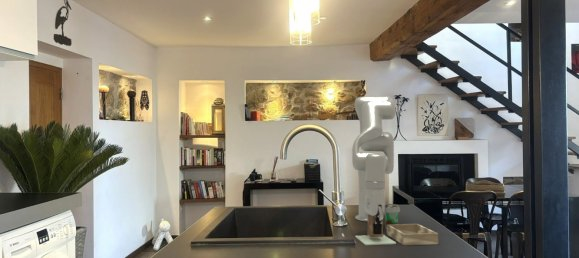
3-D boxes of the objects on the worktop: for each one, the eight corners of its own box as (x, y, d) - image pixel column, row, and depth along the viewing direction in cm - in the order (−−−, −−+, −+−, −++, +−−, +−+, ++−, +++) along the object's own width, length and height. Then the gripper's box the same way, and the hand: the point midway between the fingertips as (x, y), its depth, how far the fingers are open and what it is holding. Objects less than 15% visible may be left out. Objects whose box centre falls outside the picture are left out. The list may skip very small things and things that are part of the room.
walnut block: (367, 234, 159) (367, 213, 159) (378, 233, 160) (378, 213, 160) (371, 237, 155) (371, 216, 155) (382, 236, 156) (382, 216, 156)
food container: (401, 232, 171) (401, 208, 171) (386, 231, 172) (386, 207, 172) (399, 225, 183) (399, 203, 183) (385, 225, 184) (385, 203, 184)
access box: (386, 234, 167) (386, 224, 167) (417, 233, 169) (417, 223, 169) (404, 245, 150) (404, 234, 150) (438, 244, 152) (438, 233, 153)
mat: (355, 237, 162) (355, 235, 162) (383, 236, 164) (383, 234, 164) (365, 245, 151) (365, 243, 151) (395, 243, 152) (395, 242, 152)
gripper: (358, 183, 165) (358, 227, 165) (373, 188, 149) (373, 238, 149) (376, 182, 167) (376, 227, 166) (393, 188, 150) (392, 237, 150)
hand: (375, 231), depth 157 cm, fingers closed on walnut block, 4 cm apart
